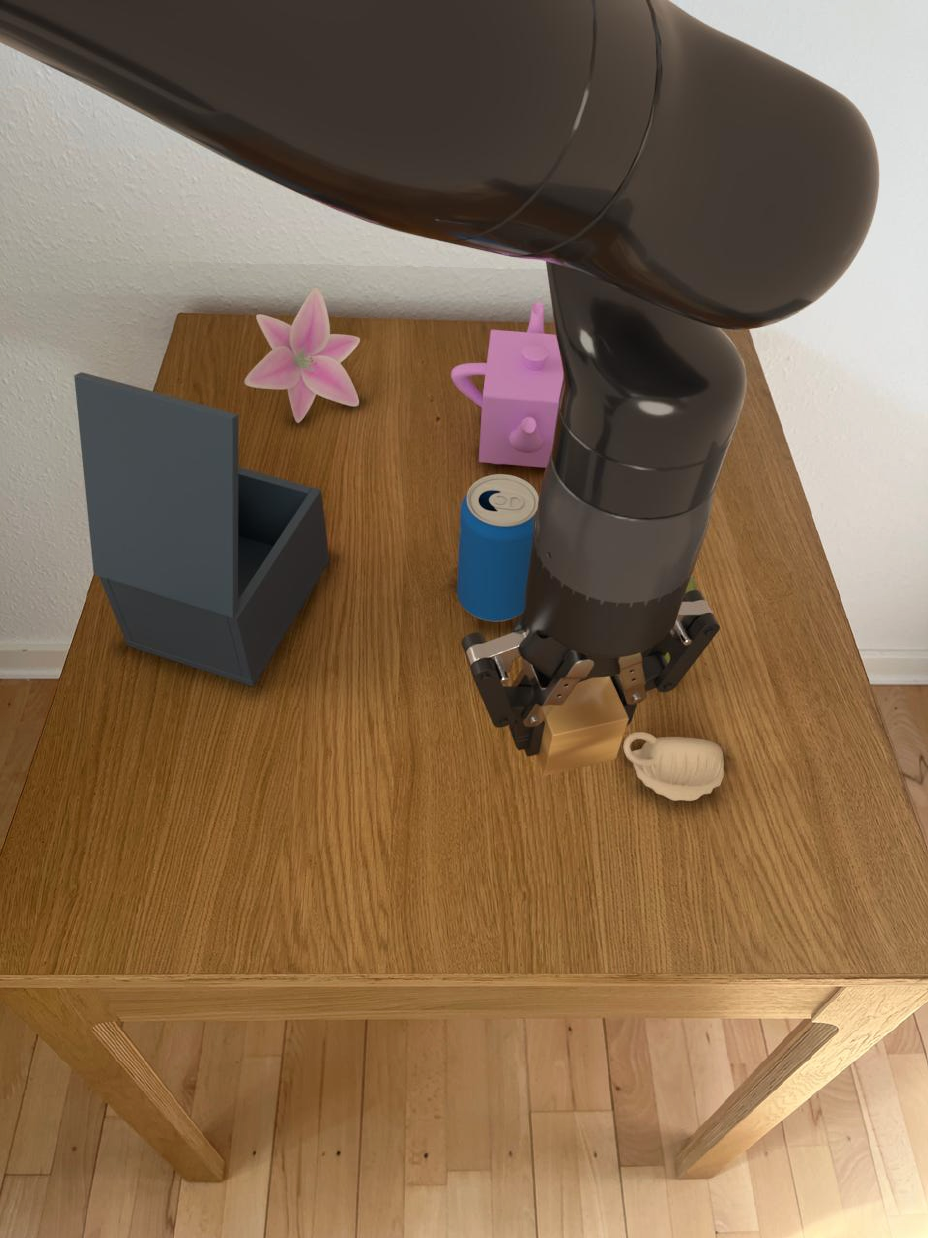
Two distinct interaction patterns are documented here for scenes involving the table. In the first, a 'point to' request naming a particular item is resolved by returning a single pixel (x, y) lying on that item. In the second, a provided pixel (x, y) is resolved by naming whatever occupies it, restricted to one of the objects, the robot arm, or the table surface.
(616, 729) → the block
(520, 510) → the beverage can
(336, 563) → the table surface
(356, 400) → the lily
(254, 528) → the chest
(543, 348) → the teapot
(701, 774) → the decorative ornament
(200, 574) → the lid
